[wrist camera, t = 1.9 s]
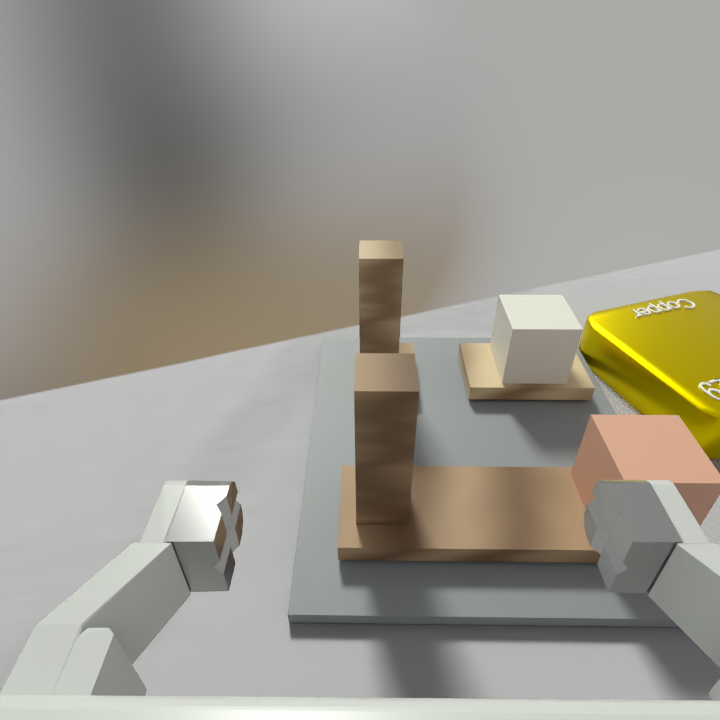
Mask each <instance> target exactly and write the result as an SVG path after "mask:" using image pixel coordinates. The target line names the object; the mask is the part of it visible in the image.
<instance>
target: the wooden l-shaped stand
mask: <svg viewBox="0 0 720 720" xmlns="http://www.w3.org/2000/svg"><path fill="white" fill-rule="evenodd" d="M418 400H419V385H418V377H417V369H416V360H415V353H356V354H355V380H354V418H355V466H351V465H342V478H341V495H340V513H339V531H338V560H374V561H469V562H564V563H598V561H599V558H600V556H601V555H600V554H599V553H598V552H597V551H595V550H594V549H593V548H592V547H591V546H590V544H589V542H588V539H587V536H586V532H585V527H584V513H585V508H584V505H583V503H582V500H581V498H580V495H579V493H578V490H577V488H576V486H575V483H574V481H573V478H572V476H571V470H572V467H480V466H413V462H414V450H415V437H416V425H417V413H418Z"/></svg>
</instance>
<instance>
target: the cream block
mask: <svg viewBox="0 0 720 720" xmlns="http://www.w3.org/2000/svg"><path fill="white" fill-rule="evenodd" d="M582 331H583V329H582V327H581V325H580V324H579V322H578V320H577V319H576V317H575V315H574V314H573V312H572V311H571V309H570V307H569V306H568V304H567V302H566V301H565V299H564V297H563V296H562V295H499V297H498V302H497V308H496V314H495V320H494V325H493V331H492V337H491V342H490V349H491V352H492V355H493V358H494V361H495V364H496V367H497V370H498V373H499V376H500V379H501V383H504V384H567V381H568V378H569V375H570V371H571V368H572V365H573V361H574V358H575V355H576V351H577V348H578V344H579V341H580V338H581V334H582Z"/></svg>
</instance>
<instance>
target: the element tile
mask: <svg viewBox="0 0 720 720" xmlns="http://www.w3.org/2000/svg"><path fill="white" fill-rule="evenodd" d="M578 348H579V350H580V352H581V353H582V355H583V357H584V359H585V361H586V362H587V364H588V366H589V368H590V369H591V371H593V372H594V373H595V374H596V375H597V376H598V377H600V378H601V379H602V380H603V381H604V382H605V383H606V384H608V385H609V386H610V387H611V388H612V389H613V390H615V391H616V392H617V393H618V394H619V395H620V396H622V397H623V398H624V399H625V400H626V401H627V402H628V403H630V404H631V405H632V406H633V407H634V408H635V409H637V410H638V411H639V412H640V413H641V414H642V415H679V417H680V418H681V419H682V421H683V422H684V424H685V425H686V427H687V428H688V429H689V431H690V432H691V434H692V435H693V436H694V438H695V439H696V441H697V442H698V444H699V445H700V446H701V448H702V449H703V451H704V452H705V454H706V455H707V456H708V458H709V459H720V294H717V293H715V292H712V291H693V292H687V293H682V294H678V295H673V296H668V297H663V298H659V299H654V300H649V301H645V302H640V303H635V304H630V305H626V306H621V307H616V308H611V309H607V310H602V311H597V312H594V313H592V314H591V315H589V316H588V317H587V320H586V324H585V327H584V330H583V334H582V337H581V341H580V344H579V347H578Z"/></svg>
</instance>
